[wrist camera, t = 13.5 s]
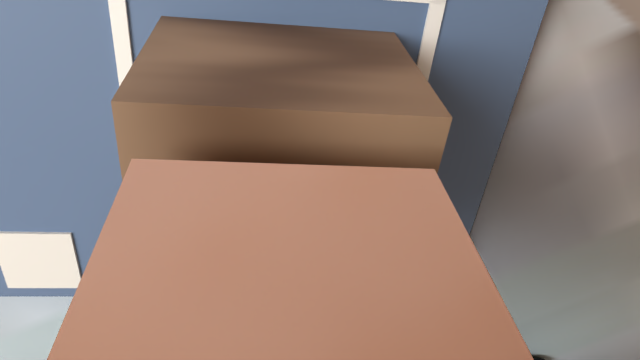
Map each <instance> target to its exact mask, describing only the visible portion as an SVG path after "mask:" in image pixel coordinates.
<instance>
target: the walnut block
mask: <svg viewBox="0 0 640 360" xmlns="http://www.w3.org/2000/svg"><path fill="white" fill-rule="evenodd" d="M111 106H112V113H113V120H114V127H115V134H116V141H117V148H118V155H119V162H120V169H121V176H122V181H123V178H124V176H125V174H126V171H127V169H128V166H129V164H130V162H131V159H158V160H187V161H216V162H246V163H275V164H304V165H333V166H363V167H392V168H421V169H435V171H436V173H438V170H439V166H440V162H441V159H442V155H443V151H444V147H445V144H446V140H447V136H448V133H449V129H450V125H451V122H452V116H451V115H450V113H449V112H448V110H447V109H446V107H445V106H444V104H443V103H442V102H441V100H440V99H439V97H438V96H437V94H436V93H435V91H434V90H433V88H432V87H431V85H430V84H429V82H428V81H427V80H426V78H425V77H424V75H423V74H422V72H421V71H420V69H419V68H418V66H417V65H416V63H415V62H414V61H413V59H412V58H411V56H410V55H409V53H408V52H407V50H406V49H405V47H404V46H403V44H402V43H401V41H400V40H399V39H398V37H397V36H396V34H395V33H394V32H383V31H369V30H355V29H340V28H326V27H312V26H298V25H283V24H269V23H255V22H241V21H227V20H212V19H198V18H184V17H170V16H161V17H160V19H159V21H158V22H157V24H156V26H155V27H154V29H153V31H152V32H151V34H150V36H149V38H148V39H147V41H146V43H145V44H144V46H143V48H142V49H141V51H140V53H139V54H138V56H137V58H136V59H135V61H134V63H133V65H132V66H131V68H130V70H129V71H128V73H127V75H126V76H125V78H124V80H123V81H122V83H121V85H120V86H119V88H118V90H117V92H116V93H115V95H114V97H113V98H112V100H111Z"/></svg>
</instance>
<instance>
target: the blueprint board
mask: <svg viewBox="0 0 640 360" xmlns="http://www.w3.org/2000/svg"><path fill="white" fill-rule="evenodd" d="M548 1H549V0H0V296H74V294H75V292H76V290H77V287H78V285H79V283H80V280H81V278H82V275H83V273H84V271H85V268H86V266H87V264H88V261H89V259H90V257H91V254H92V252H93V249H94V247H95V245H96V242H97V240H98V238H99V235H100V233H101V230H102V228H103V226H104V223H105V221H106V219H107V216H108V214H109V211H110V209H111V207H112V204H113V202H114V200H115V197H116V195H117V193H118V190H119V188H120V185H121V183H122V176H121V169H120V162H119V155H118V148H117V141H116V134H115V127H114V120H113V113H112V106H111V100H112V98H113V97H114V95H115V93H116V92H117V90H118V88H119V86H120V85H121V83H122V81H123V80H124V78H125V76H126V75H127V73H128V71H129V70H130V68H131V66H132V65H133V63H134V61H135V59H136V58H137V56H138V54H139V53H140V51H141V49H142V48H143V46H144V44H145V43H146V41H147V39H148V38H149V36H150V34H151V32H152V31H153V29H154V27H155V26H156V24H157V22H158V21H159V19H160V17H161V16H170V17H184V18H198V19H212V20H227V21H241V22H255V23H269V24H283V25H298V26H312V27H326V28H340V29H355V30H369V31H383V32H394V33H395V34H396V36H397V37H398V39H399V40H400V41H401V43H402V44H403V46H404V47H405V49H406V50H407V52H408V53H409V55H410V56H411V58H412V59H413V61H414V62H415V63H416V65H417V66H418V68H419V69H420V71H421V72H422V74H423V75H424V77H425V78H426V80H427V81H428V82H429V84H430V85H431V87H432V88H433V90H434V91H435V93H436V94H437V96H438V97H439V99H440V100H441V102H442V103H443V104H444V106H445V107H446V109H447V110H448V112H449V113H450V115H451V116H452V122H451V125H450V129H449V133H448V136H447V140H446V144H445V147H444V151H443V155H442V159H441V162H440V166H439V170H438V173H437V175H438V177H439V179H440V180H441V182H442V184H443V186H444V188H445V190H446V192H447V194H448V196H449V198H450V200H451V202H452V203H453V205H454V207H455V209H456V211H457V213H458V215H459V217H460V219H461V221H462V223H463V225H464V227H465V228H466V230H467V232H468V234H469V235H470V232H471V229H472V226H473V223H474V220H475V217H476V214H477V211H478V208H479V205H480V202H481V199H482V196H483V193H484V190H485V187H486V184H487V181H488V178H489V175H490V173H491V170H492V167H493V164H494V161H495V158H496V155H497V152H498V149H499V146H500V143H501V140H502V137H503V134H504V131H505V128H506V125H507V122H508V119H509V116H510V113H511V110H512V107H513V104H514V101H515V98H516V95H517V92H518V89H519V87H520V84H521V81H522V78H523V75H524V72H525V69H526V66H527V63H528V60H529V57H530V54H531V51H532V48H533V45H534V42H535V39H536V36H537V33H538V30H539V27H540V24H541V21H542V18H543V15H544V12H545V9H546V6H547V4H548Z"/></svg>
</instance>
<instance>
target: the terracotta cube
mask: <svg viewBox="0 0 640 360" xmlns="http://www.w3.org/2000/svg"><path fill="white" fill-rule="evenodd" d="M47 360H534V359H533V357H532V355H531V353H530V351H529V349H528V347H527V346H526V344H525V342H524V340H523V338H522V336H521V334H520V332H519V330H518V328H517V326H516V324H515V322H514V321H513V319H512V317H511V315H510V313H509V311H508V309H507V307H506V305H505V303H504V301H503V299H502V298H501V296H500V294H499V292H498V290H497V288H496V286H495V284H494V282H493V280H492V278H491V276H490V275H489V273H488V271H487V269H486V267H485V265H484V263H483V261H482V259H481V257H480V255H479V253H478V251H477V250H476V248H475V246H474V244H473V242H472V240H471V238H470V236H469V234H468V232H467V230H466V228H465V227H464V225H463V223H462V221H461V219H460V217H459V215H458V213H457V211H456V209H455V207H454V205H453V203H452V202H451V200H450V198H449V196H448V194H447V192H446V190H445V188H444V186H443V184H442V182H441V180H440V179H439V177H438V175H437V173H436V171H435V169H421V168H392V167H363V166H333V165H304V164H275V163H246V162H216V161H187V160H158V159H131V162H130V164H129V166H128V169H127V171H126V174H125V176H124V178H123V181H122V183H121V185H120V188H119V190H118V193H117V195H116V197H115V200H114V202H113V204H112V207H111V209H110V211H109V214H108V216H107V219H106V221H105V223H104V226H103V228H102V230H101V233H100V235H99V238H98V240H97V242H96V245H95V247H94V249H93V252H92V254H91V257H90V259H89V261H88V264H87V266H86V268H85V271H84V273H83V275H82V278H81V280H80V283H79V285H78V287H77V290H76V292H75V294H74V297H73V299H72V302H71V304H70V306H69V309H68V311H67V313H66V316H65V318H64V320H63V323H62V325H61V328H60V330H59V332H58V335H57V337H56V339H55V342H54V344H53V347H52V349H51V351H50V354H49V356H48V358H47Z"/></svg>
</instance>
